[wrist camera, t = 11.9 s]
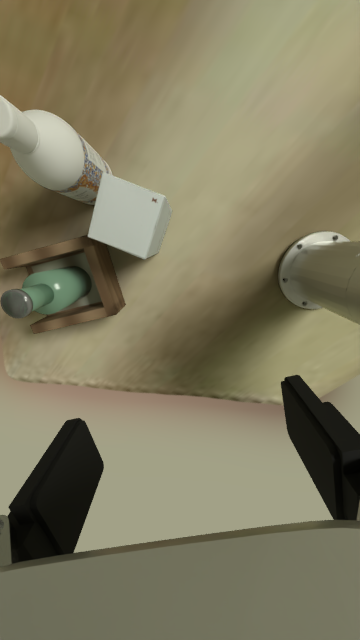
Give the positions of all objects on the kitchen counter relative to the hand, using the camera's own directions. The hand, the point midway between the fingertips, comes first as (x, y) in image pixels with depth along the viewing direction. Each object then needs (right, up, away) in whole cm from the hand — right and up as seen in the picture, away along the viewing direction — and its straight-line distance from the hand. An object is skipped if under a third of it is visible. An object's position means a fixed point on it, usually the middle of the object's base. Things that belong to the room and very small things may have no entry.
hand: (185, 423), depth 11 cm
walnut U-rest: (-18, +11, +31) cm, 37 cm away
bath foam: (-14, +26, +26) cm, 39 cm away
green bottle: (-18, +11, +29) cm, 36 cm away
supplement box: (-6, +20, +28) cm, 35 cm away
